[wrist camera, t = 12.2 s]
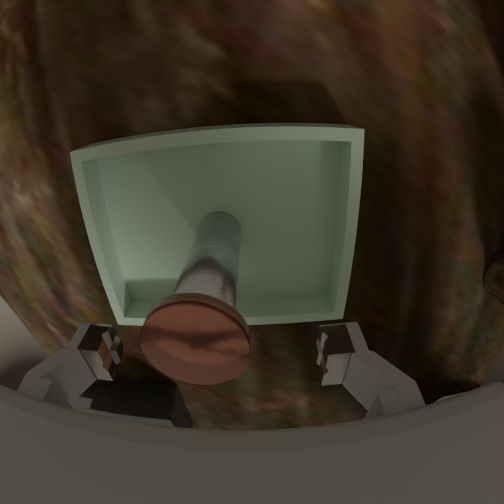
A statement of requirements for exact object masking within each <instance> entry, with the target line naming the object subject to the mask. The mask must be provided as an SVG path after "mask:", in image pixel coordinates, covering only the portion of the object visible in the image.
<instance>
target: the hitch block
mask: <svg viewBox="0 0 504 504" xmlns="http://www.w3.org/2000/svg"><path fill="white" fill-rule="evenodd" d="M71 407H72V408H73V409H75V410H79V411H83V412H87V413H91V414H96V415H100V416H105V417H110V418H115V419H121V420H127V421H133V422H139V423H146V424H153V425H162V426H171V427H181V428H193V422H192V420H191V418H190V415H189V413H188V411H187V408H186V406H185V403H184V401H183V398H182V396H181V393H180V391H179V388H178V386H177V384H170V383H154V382H142V381H131V380H122V379H114V380H113V381H110V380H102V379H100V382H99V384H98V385H94V384H92V385H91V386H89V387H88V388H87V389H86V390H85V391H84V392H83V393H82V394H81V395H80V396H79V397H78V398H77V399H76V400H75V401H74V402H73V403H72V404H71Z"/></svg>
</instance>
